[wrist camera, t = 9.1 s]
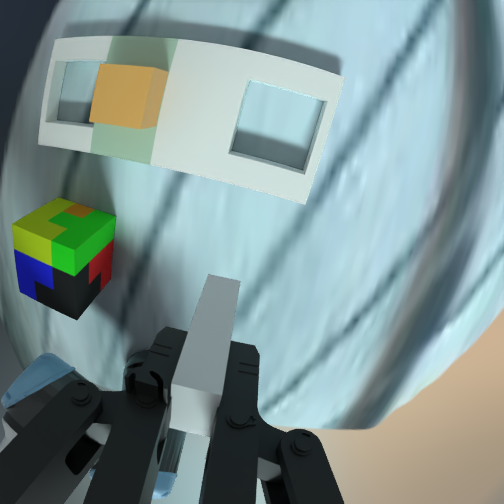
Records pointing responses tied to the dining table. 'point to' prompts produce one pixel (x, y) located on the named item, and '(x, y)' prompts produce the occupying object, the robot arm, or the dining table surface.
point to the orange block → (128, 95)
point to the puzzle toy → (64, 255)
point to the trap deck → (192, 109)
